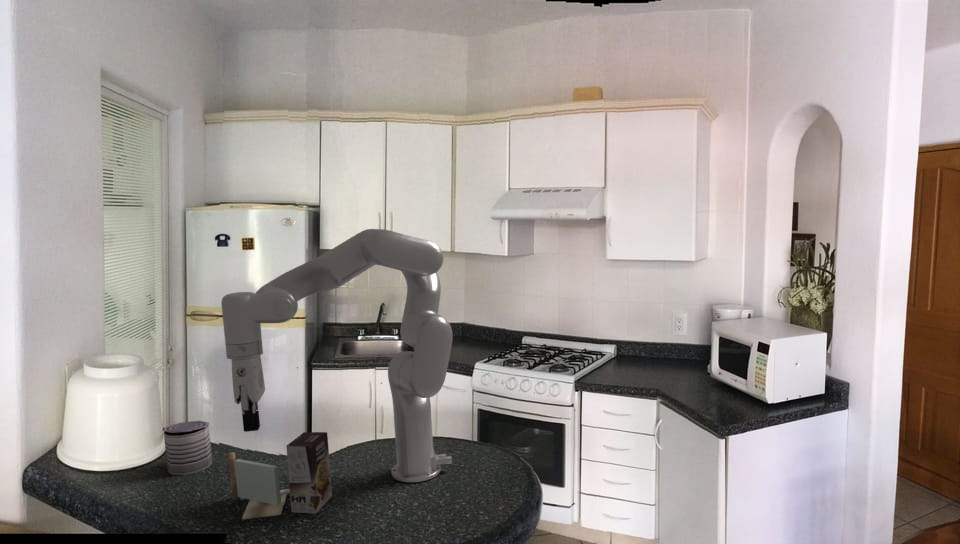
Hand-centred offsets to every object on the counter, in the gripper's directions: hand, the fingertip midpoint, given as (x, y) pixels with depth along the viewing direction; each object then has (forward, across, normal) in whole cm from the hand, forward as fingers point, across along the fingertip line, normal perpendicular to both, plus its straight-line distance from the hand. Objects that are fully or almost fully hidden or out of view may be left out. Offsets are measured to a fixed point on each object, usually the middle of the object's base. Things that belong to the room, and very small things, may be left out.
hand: (252, 429), depth 142 cm
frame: (+21, +13, 0) cm, 25 cm away
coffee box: (+21, +4, -11) cm, 24 cm away
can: (+21, +36, +25) cm, 49 cm away
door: (+20, +8, +2) cm, 22 cm away
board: (+21, +6, 0) cm, 22 cm away
